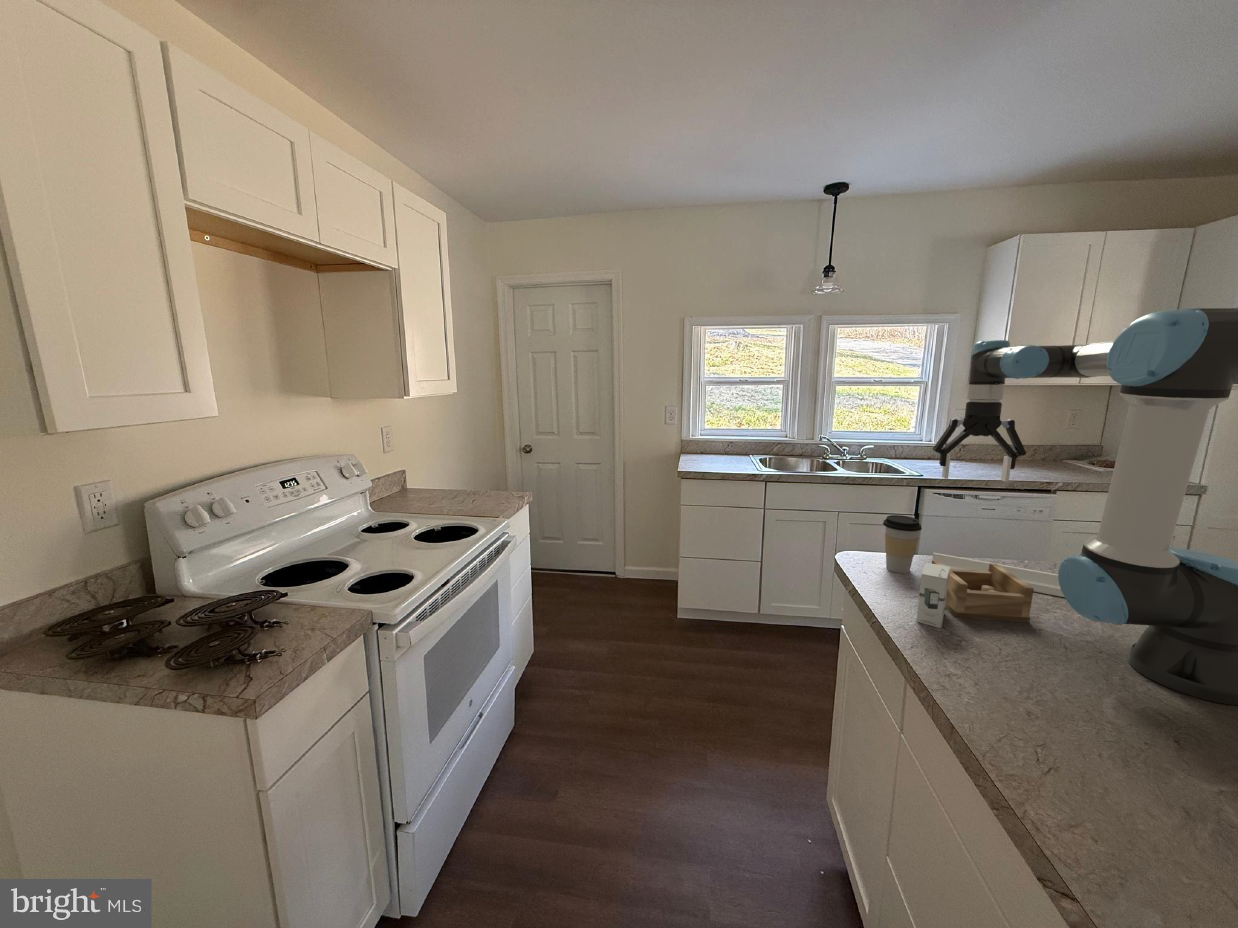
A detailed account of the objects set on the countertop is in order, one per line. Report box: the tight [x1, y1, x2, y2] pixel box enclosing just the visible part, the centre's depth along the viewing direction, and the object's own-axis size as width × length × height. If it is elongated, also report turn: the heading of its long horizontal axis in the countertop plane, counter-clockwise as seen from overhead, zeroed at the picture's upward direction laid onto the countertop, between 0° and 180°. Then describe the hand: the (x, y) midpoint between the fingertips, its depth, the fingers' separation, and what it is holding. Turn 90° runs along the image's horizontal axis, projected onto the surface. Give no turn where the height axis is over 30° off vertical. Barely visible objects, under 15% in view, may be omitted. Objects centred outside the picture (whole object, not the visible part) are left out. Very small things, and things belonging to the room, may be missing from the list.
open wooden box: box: [931, 559, 1034, 624], centre depth 112 cm, size 14×15×8 cm
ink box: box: [915, 562, 950, 629], centre depth 107 cm, size 9×5×12 cm, turn 141°
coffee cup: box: [882, 514, 923, 574], centre depth 133 cm, size 9×9×15 cm
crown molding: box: [932, 552, 1065, 599], centre depth 128 cm, size 31×12×4 cm, turn 54°
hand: (974, 479), depth 127 cm, fingers open, 13 cm apart
